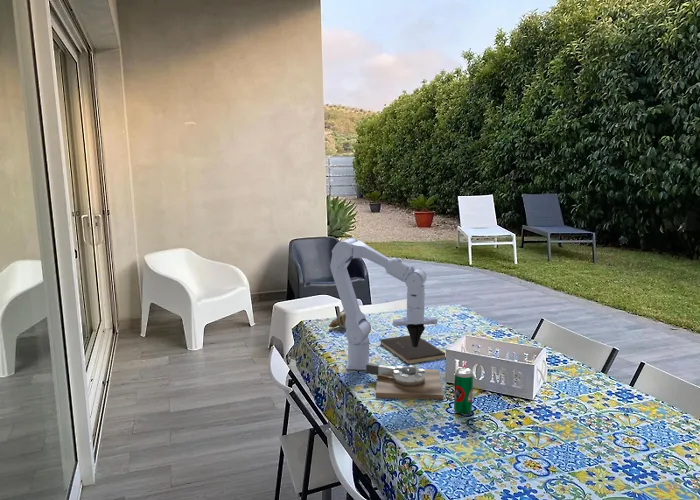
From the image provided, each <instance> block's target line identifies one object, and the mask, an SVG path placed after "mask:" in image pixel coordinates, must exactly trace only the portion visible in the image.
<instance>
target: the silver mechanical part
mask: <svg viewBox="0 0 700 500" xmlns="http://www.w3.org/2000/svg"><path fill="white" fill-rule="evenodd" d="M424 369H425V368H420V367H417V365H413V364H410V365H409V366H404V365H398V366H391V365H389V366H388V365H383V364H379V363H372V362H371V363H367V364H366V370H365V374H367V375H373V376H378V375H383V376H390V377H393V381H394V382H395V383H396V384H399V385H402V386H418V385H421V384H423V383H424V382H425V370H424Z"/></svg>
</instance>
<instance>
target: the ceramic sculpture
mask: <svg viewBox="0 0 700 500" xmlns="http://www.w3.org/2000/svg"><path fill="white" fill-rule="evenodd" d="M345 320H346V315H345V312H344V309H342V311H340V312H339V313H338V314H337V317H336V318H334V319H332V320H331V322H330V323H329V324H328V327H329V328H338V327H339V328H342V329H346V326H345Z"/></svg>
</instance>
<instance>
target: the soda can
mask: <svg viewBox="0 0 700 500" xmlns="http://www.w3.org/2000/svg"><path fill="white" fill-rule="evenodd" d="M473 394H474V374H473V371H472V370H471V369H470V368H464V367H460V368H457V369H456V372H455V374H454V394H453V396H454V398H453V411H454V412H456V413H458V414H460V415H467V414H470V413H472V411H473Z"/></svg>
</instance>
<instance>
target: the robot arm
mask: <svg viewBox="0 0 700 500" xmlns="http://www.w3.org/2000/svg"><path fill="white" fill-rule="evenodd" d="M361 258H364V259H367V260H369V262H373V263H375V264H377V265H379V266H381V267H383V268H384V269H385V272H386V274H387V275H390V276H392V277H394V278H395V279H396V280H399V281H401V282H403V283H404V284H405V286H406V287H407V288H406V289H407V292H406V317H403V318H397V319H393V320H392V326H393V327H394V328H398V327H406V329H407V331H408V334H409V335H410V337H411V342H412V346H413V347H418V343H419V340H420V338H421V337H422V334H423V333H424V331H425V328H426V327H425V325H435V326H436V325H438V318H437V317H436V316H435V317H432V316H431V317H429V316H425V300H426V299H425V295H426V294H425V283H426V281H427V274H426V272H425V271H424V270H423V269H422V268H420V267H416V266H414V265H411V264H407V263H406V262H404V261H403V259H402V258H401V257H393V258H389V257H387V256H386V255H384V254H383V253H381V252H379V251H377V250H376V249H374V248H373V247H371V246H369V245H368V244H366V243H365V242H364V241H362V240H358V239H357V238H355V237H348V238H346V239H344V240H342V241H338V242H337V243H336V244H335V245H334V247H333V248H332V250H331V261H330V265H329V266H330V267H329V268H330V271H331V274H332V278H333V281H334V284H335V287H336V290H337V293H338V296H339V299H340V301H341V305H342V308H343V309H344V312H345V315H346V320H345V326H346V328H345V338H346V340H347V362H346V367H345V369H346V370H357V371H359V370H360V371H366V364H367V363H372V361H371V360H372V359H371V358H370V339H369V335H370V333H371V331H372V325H371V323H370V322H369V321H368V320H367V318H366V315H365V314H364V312H362V310H361V308H360V305H359V302H358V299H357V296H356V293H355V290H354V287H353V283H352V280H351V277H350V274H349V271H348V267H349V265H350V263H351V261H352V260H353V259H361ZM415 267H416V268H415ZM343 309H342V310H343Z"/></svg>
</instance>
